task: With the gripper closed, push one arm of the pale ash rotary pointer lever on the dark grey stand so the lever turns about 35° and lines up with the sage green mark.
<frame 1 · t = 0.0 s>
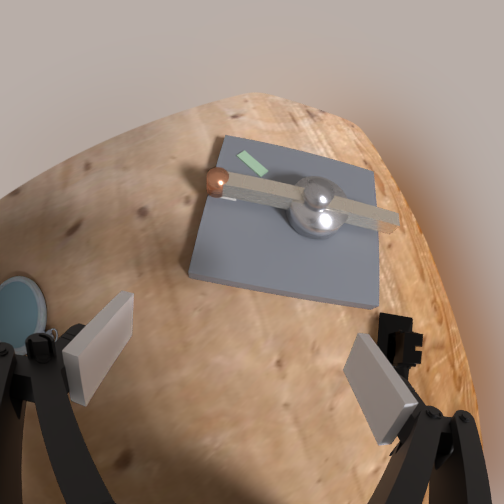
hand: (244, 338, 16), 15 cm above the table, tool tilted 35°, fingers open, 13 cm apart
rotary pointer lever: (308, 200, 33), point 5 cm above the table, hinge at 0.0°
pocket watch: (19, 316, 27), on the table
black stepped block: (391, 351, 33), on the table
stand: (294, 219, 37), on the table
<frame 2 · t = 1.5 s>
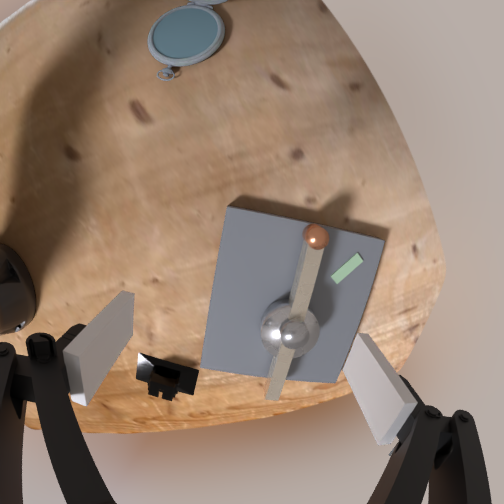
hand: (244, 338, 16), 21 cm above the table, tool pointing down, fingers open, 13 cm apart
rotary pointer lever: (293, 322, 34), point 5 cm above the table, hinge at 0.0°
pocket watch: (187, 35, 30), on the table
black stepped block: (167, 372, 41), on the table
stand: (288, 303, 38), on the table
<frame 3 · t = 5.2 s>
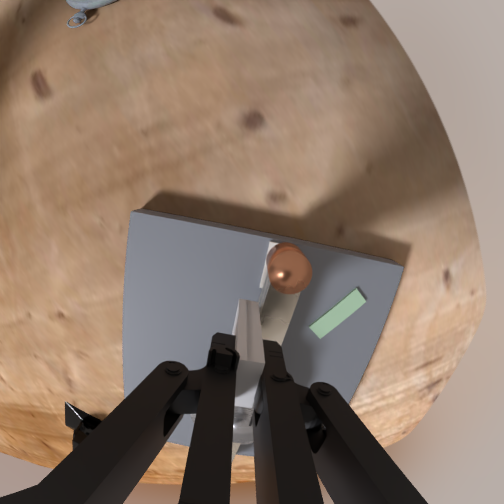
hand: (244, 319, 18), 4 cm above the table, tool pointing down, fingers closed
rotary pointer lever: (242, 401, 19), point 5 cm above the table, hinge at 3.9°, touching gripper
black stepped block: (99, 427, 27), on the table
stand: (243, 360, 24), on the table
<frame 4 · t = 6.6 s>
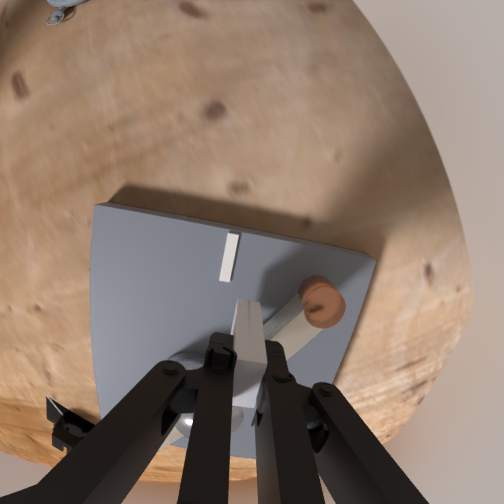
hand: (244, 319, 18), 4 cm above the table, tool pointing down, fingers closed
rotary pointer lever: (207, 399, 19), point 5 cm above the table, hinge at 32.3°, touching gripper
black stepped block: (79, 423, 27), on the table
stand: (211, 356, 23), on the table
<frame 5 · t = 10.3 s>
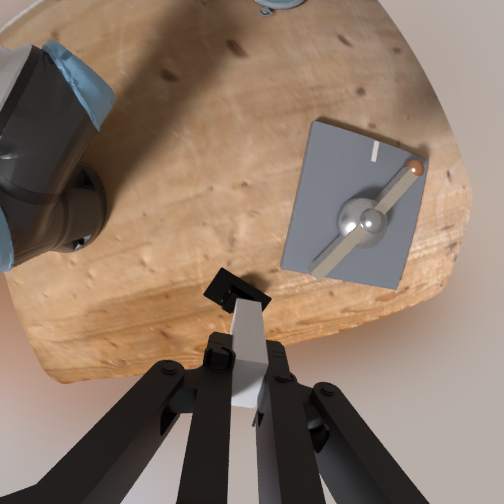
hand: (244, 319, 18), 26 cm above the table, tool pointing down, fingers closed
rotary pointer lever: (371, 216, 38), point 5 cm above the table, hinge at 32.3°
black stepped block: (238, 295, 47), on the table
stand: (357, 209, 43), on the table
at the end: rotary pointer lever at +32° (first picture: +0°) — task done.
